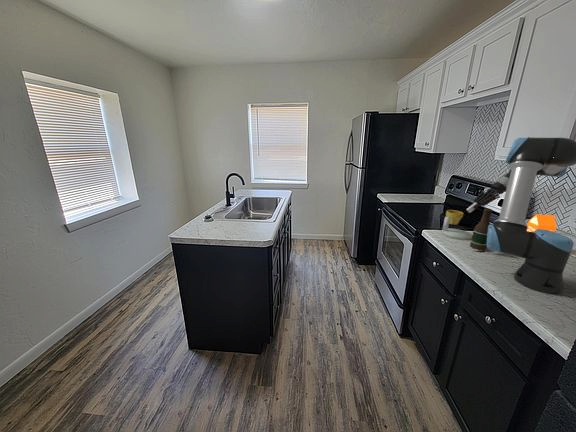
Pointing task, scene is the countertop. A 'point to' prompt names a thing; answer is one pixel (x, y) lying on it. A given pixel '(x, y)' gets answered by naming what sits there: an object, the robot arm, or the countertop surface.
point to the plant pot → (454, 216)
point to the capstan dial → (454, 231)
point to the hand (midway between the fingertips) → (468, 210)
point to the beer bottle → (481, 232)
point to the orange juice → (542, 223)
